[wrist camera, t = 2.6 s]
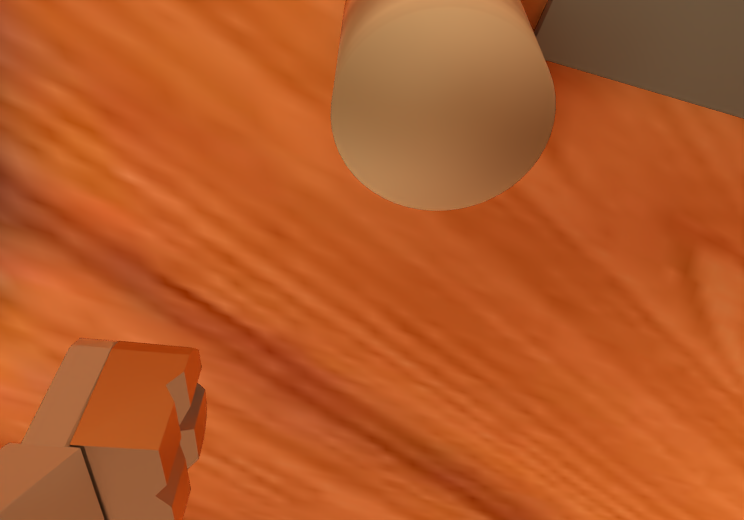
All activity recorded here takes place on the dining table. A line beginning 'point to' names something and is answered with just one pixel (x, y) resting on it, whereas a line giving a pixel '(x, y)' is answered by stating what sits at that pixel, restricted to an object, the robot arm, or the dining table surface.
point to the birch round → (440, 99)
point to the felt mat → (653, 46)
